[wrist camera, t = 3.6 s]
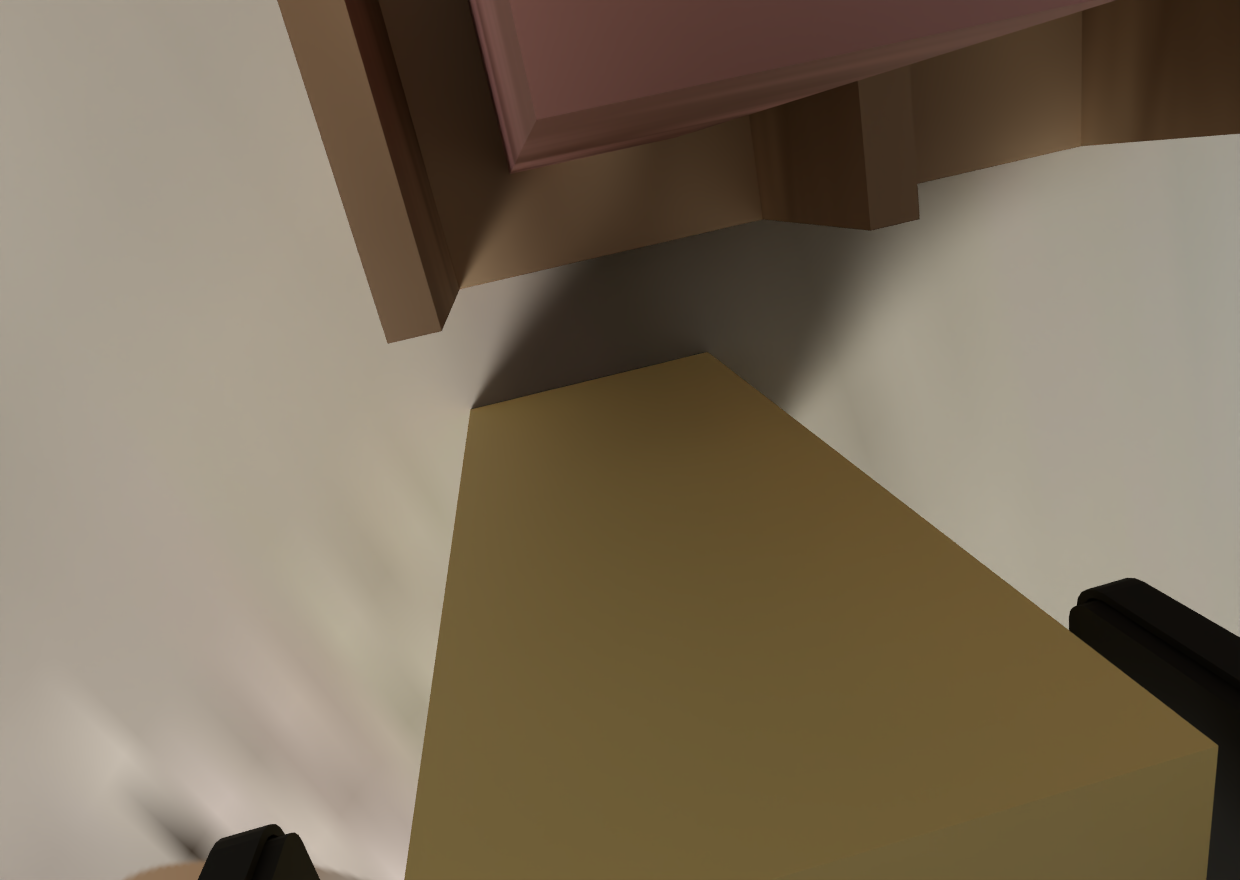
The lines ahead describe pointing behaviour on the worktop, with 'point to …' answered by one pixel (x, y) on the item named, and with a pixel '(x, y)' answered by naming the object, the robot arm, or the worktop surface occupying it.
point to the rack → (712, 116)
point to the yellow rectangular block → (762, 670)
